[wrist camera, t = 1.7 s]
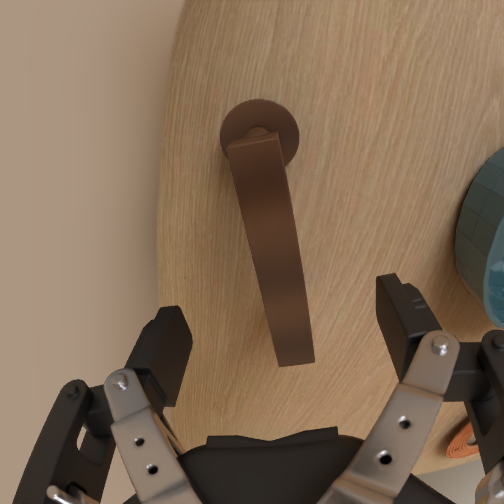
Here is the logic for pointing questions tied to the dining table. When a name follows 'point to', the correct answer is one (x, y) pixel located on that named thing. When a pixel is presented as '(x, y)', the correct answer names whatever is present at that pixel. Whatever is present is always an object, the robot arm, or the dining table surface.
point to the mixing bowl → (484, 239)
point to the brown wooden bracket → (271, 219)
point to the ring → (462, 444)
